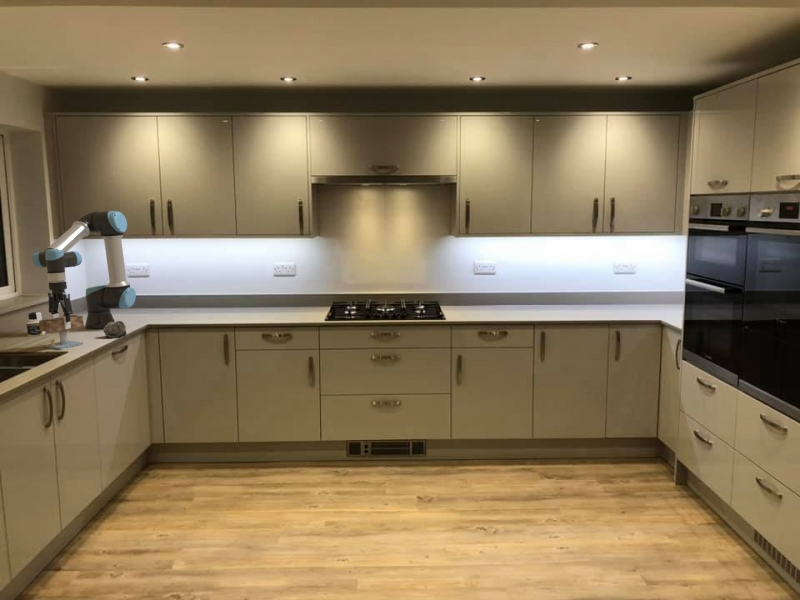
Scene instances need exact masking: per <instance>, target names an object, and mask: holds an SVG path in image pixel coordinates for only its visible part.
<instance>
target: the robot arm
mask: <svg viewBox="0 0 800 600" xmlns="http://www.w3.org/2000/svg"><path fill="white" fill-rule="evenodd" d="M127 228H128V222H127V218H126V217H125V215H124V214H123V213H122V212H120V211H119V210H118V211H117V210H103V211H99V210H98V211H97V210H96V211H89V212H88V213H85V214H84V215H82V216H80V217H79V218H77V219H76V220H75V221H74V222H73V223H72V224H71V227H70V228H69V229H67V230H65V232H64V233H62V235H60V236H59V237H58V238H57V239H56V240H55V241H54V242H52V244H50V245H49V246H48V247H47V248H45V249H44V250H43V251H38V252H34V253H33V254H32V256H31V261H32V264H33V265H34V267H37V268H43V269H45V268H46V271H47V281H48V289H49V291H51V292H48V293H47V298H48V313H49V314H50V313H51V315H52V318H57V317H60V312H58V311H59V304H60V307H61V309H62V312H63V315H62V317H63V318H64V327H65V329H66V330H70V329H72V328H71V324H70V315H74V314H73V312H74V311H73V307H72V302H71V293H66V291H65V290H67V289H68V284H67V280H66V279H67V278H66V275H67V274H66V268H72V267H74V268H75V267H78V266H80V265H81V264H82V263H83V256H82V254H81V253H80V252H78V251H74V250H72V251H71V249H72V248H74V246H75V245H76V244H77V243H78V242H80V241H81V240H82V239H83V238H87V237H88V236H89V235H91V234H97V233H99V234H100V235H99V236H100V238H102V239H103V241H104V242H103V243H104V249H105V256H106V257H105V258H106V265H107V270H108V271H107V272H108V280H109V283H107V284H103V285H102V284H101V285H97V286H96V285H95V286H90V287H88V288H87V287H86V289H85V300H86V310H87V316H86V319H85V325H84V326H85V329H88V328H99V329H104V327H105V326H106V325H107V324H108V323H109V322H116V321H115V319H114V317H113V314H112V313H111V311H112V310H111V309H120V310H121V309H129V308H132V307H133V306H134V304H135V302H136V299H137V297H136V296H137V292H136V290H135V289H134V288H133V287H132V286H131V283H130V282H128V281H127V274H126V268H125V267H126V265H125V259H124V250H123V249H124V248H123V243H122V238H123V237H124V233H125V232H126V231H127ZM69 328H70V329H69Z"/></svg>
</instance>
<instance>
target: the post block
mask: <svg viewBox="0 0 800 600" xmlns="http://www.w3.org/2000/svg"><path fill="white" fill-rule="evenodd" d="M58 333H59V341H58V342H55V339H51V340H50V343H49V344H45V345H44V348H45V347H49V348H48V349H52V348H54V349H53V350H58V349H61V350H64V349H63V348H66V349H69V348H68V347H70V348H73V347H72V346H75V347H78V346H77V345H79V346H82V345H81V344H83V345H84V342H80V341H75V340H69V339H68V335H67V329H65V330H60V331H58Z"/></svg>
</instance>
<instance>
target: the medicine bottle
mask: <svg viewBox="0 0 800 600" xmlns="http://www.w3.org/2000/svg"><path fill="white" fill-rule="evenodd" d="M40 320H43V316H42V312H39V311H35V312H29V313H28V322H27V323H26V332H27V337H36V336H37V337H38V335H40V336H43V335H45V334H46V333H47V332H44V331H40V325H39V321H40Z"/></svg>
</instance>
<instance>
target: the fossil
mask: <svg viewBox="0 0 800 600" xmlns="http://www.w3.org/2000/svg"><path fill="white" fill-rule="evenodd" d="M126 328H127V327H126V324H125V322H124V321H121V320H116V321H115V322H109V323H108V324H107V325H106V326H105V327H104V328H103V333H104V335H105V336H106V337H107V338H110V339H118V338H121V337H122V336H127V334H128V333H127V329H126Z"/></svg>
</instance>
